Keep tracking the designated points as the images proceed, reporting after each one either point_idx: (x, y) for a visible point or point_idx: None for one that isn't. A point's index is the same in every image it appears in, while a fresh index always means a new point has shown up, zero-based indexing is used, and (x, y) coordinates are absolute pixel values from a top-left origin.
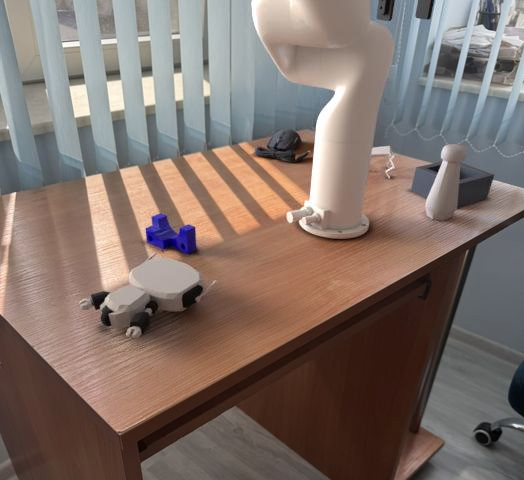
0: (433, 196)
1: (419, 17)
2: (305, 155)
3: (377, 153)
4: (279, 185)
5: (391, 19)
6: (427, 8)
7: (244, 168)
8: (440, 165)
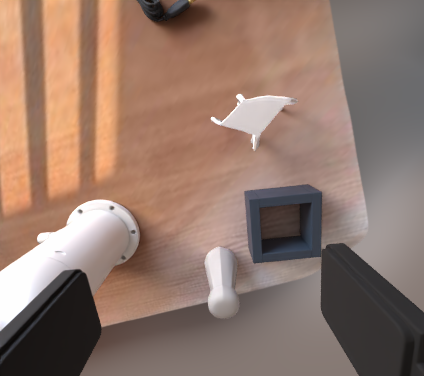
0: (206, 270)
1: (321, 271)
2: (180, 11)
3: (241, 127)
4: (94, 106)
5: (100, 332)
6: (343, 336)
7: (68, 14)
8: (288, 204)
